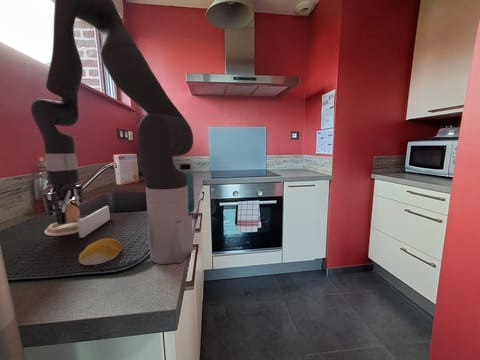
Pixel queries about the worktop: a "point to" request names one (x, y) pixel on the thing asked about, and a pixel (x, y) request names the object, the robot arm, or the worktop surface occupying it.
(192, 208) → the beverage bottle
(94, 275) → the worktop surface
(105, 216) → the wall
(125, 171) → the cracker box
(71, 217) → the ball
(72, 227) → the saucer
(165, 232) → the robot arm
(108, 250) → the bread roll
